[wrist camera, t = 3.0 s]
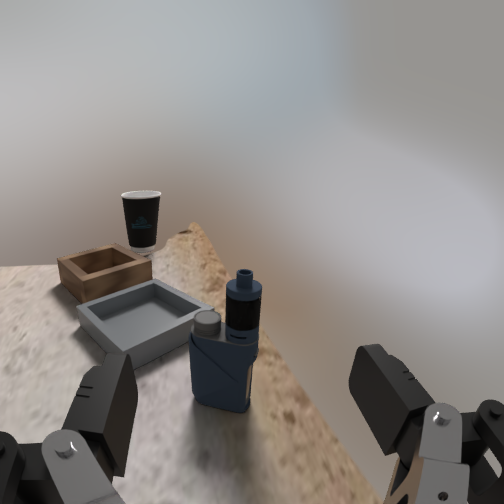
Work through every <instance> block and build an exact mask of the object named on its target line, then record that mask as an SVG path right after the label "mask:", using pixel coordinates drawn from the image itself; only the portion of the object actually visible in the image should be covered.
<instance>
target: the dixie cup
mask: <svg viewBox="0 0 504 504" xmlns="http://www.w3.org/2000/svg"><path fill="white" fill-rule="evenodd" d="M160 196H161V193H160V192H157V191H133V192H127V193H123V194H121V197H122V200H123V207H124V213H125V220H126V228H127V234H128V239H129V245H130V246H131V250H132V251H133V252H137V253H144V252H149V251H152V250H154V248H155V244H156V235H157V222H158V211H159V201H160Z"/></svg>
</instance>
